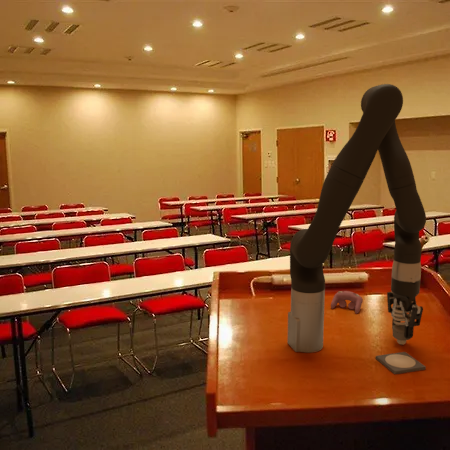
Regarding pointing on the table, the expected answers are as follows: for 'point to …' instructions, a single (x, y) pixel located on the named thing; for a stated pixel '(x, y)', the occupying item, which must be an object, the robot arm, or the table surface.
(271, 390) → the table surface
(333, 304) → the video game controller
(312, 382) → the table surface
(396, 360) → the pad
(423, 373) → the table surface
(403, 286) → the robot arm
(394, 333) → the light bulb
